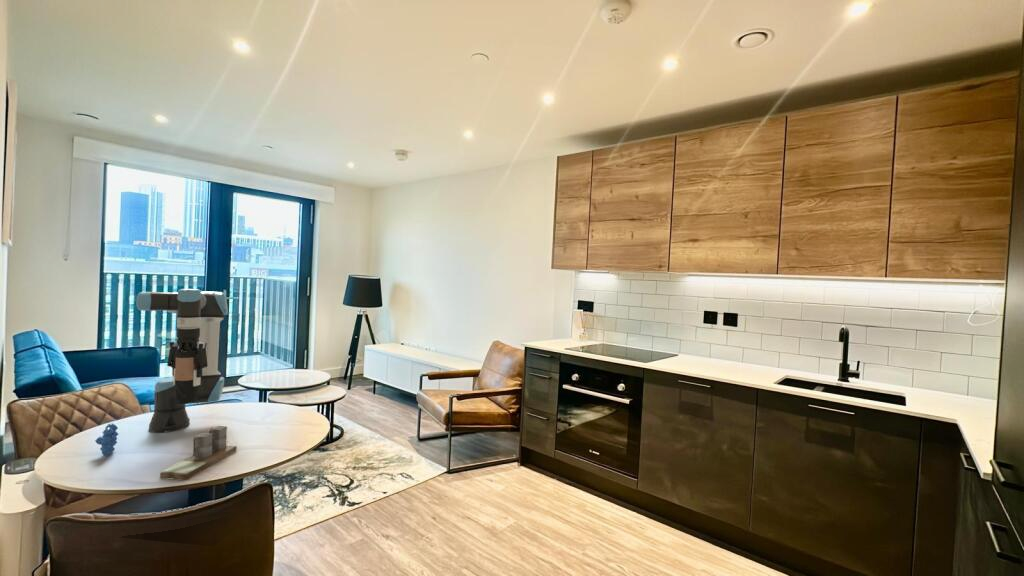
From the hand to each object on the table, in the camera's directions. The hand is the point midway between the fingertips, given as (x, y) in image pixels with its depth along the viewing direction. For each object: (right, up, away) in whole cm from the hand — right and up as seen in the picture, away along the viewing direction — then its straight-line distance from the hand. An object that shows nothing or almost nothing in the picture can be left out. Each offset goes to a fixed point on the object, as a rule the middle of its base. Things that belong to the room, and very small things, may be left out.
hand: (186, 384), depth 173 cm
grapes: (-33, -28, +1) cm, 44 cm away
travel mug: (0, -6, 0) cm, 6 cm away
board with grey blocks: (+7, -30, -2) cm, 31 cm away
